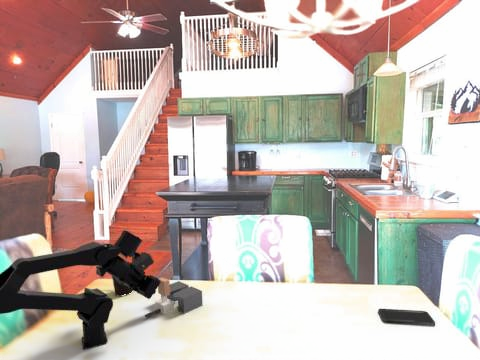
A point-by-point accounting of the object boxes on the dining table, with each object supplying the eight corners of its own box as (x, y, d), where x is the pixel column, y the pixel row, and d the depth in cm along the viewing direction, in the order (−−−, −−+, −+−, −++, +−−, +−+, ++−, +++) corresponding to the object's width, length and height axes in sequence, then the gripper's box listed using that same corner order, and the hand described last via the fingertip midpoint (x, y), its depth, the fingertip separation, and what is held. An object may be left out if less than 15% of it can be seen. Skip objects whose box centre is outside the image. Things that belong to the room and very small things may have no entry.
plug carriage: (149, 321, 107) (147, 288, 106) (141, 315, 110) (139, 284, 109) (174, 310, 114) (172, 279, 113) (165, 305, 117) (164, 276, 116)
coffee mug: (131, 297, 125) (129, 271, 124) (108, 297, 126) (106, 271, 125) (140, 284, 137) (139, 261, 136) (120, 285, 137) (118, 261, 136)
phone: (377, 308, 110) (426, 311, 107) (377, 311, 110) (426, 314, 107) (383, 320, 102) (436, 323, 100) (383, 324, 102) (436, 327, 100)
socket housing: (184, 313, 111) (183, 298, 111) (161, 301, 121) (160, 287, 120) (202, 305, 117) (201, 290, 117) (179, 294, 126) (178, 281, 126)
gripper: (153, 252, 99) (184, 277, 108) (122, 242, 112) (153, 265, 121) (130, 286, 94) (165, 310, 103) (101, 271, 107) (134, 293, 116)
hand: (154, 292), depth 111 cm, fingers closed
